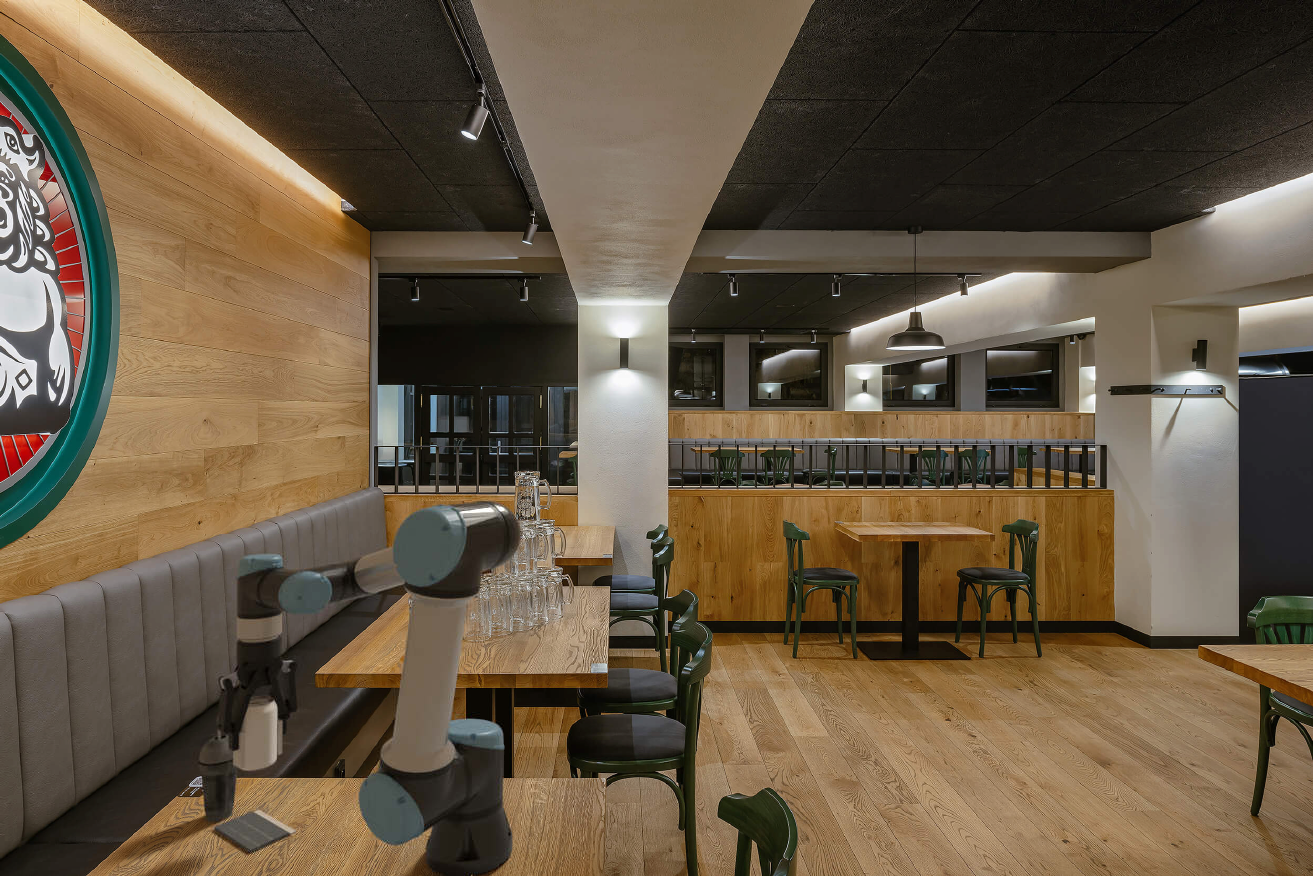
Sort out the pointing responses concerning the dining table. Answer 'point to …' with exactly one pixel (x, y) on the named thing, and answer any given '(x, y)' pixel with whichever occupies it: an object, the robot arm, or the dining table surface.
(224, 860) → the dining table surface
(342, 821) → the dining table surface
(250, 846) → the dark grey flat slab
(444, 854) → the robot arm
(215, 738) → the beverage cup
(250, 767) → the can
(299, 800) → the dining table surface
